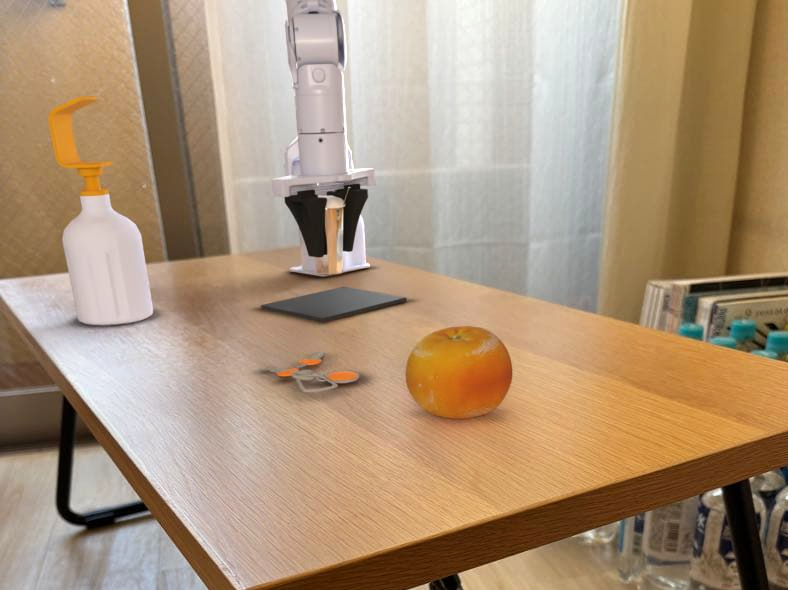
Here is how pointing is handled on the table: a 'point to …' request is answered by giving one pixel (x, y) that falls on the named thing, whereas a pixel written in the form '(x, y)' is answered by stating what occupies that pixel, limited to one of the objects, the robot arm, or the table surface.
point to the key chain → (315, 374)
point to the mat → (333, 303)
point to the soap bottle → (99, 240)
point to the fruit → (459, 372)
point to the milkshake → (332, 237)
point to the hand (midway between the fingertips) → (330, 253)
